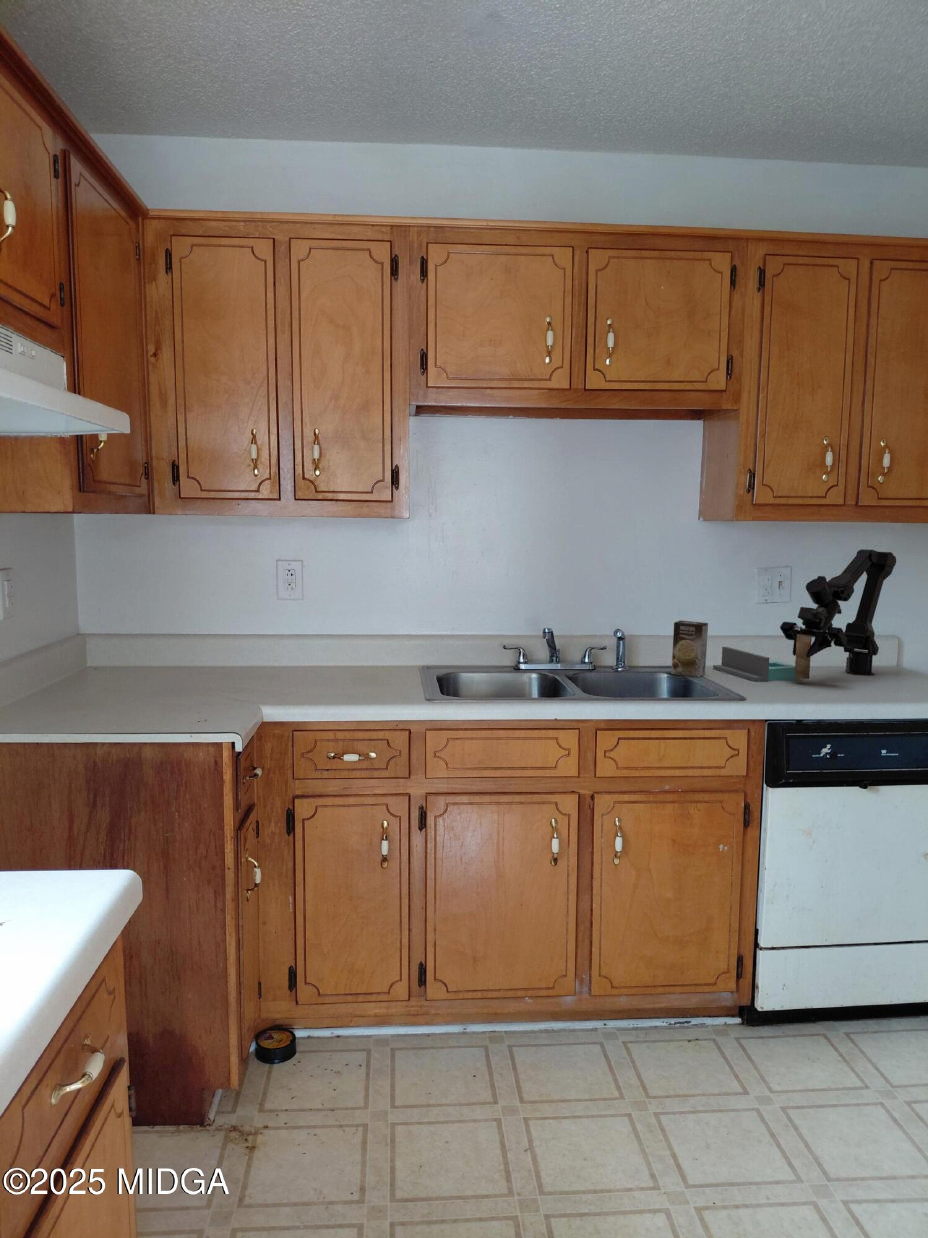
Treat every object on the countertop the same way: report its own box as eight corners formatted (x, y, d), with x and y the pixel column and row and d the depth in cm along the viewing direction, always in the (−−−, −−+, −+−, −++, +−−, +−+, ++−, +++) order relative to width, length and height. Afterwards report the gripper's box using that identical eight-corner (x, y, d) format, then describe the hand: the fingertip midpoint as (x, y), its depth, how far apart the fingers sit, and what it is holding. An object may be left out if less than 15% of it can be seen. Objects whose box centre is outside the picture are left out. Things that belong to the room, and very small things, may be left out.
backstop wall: (725, 668, 276) (726, 646, 275) (768, 681, 255) (769, 657, 254) (713, 668, 275) (714, 647, 274) (754, 681, 254) (755, 658, 253)
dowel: (806, 676, 254) (808, 634, 252) (811, 679, 250) (813, 636, 248) (792, 676, 254) (794, 634, 252) (797, 678, 250) (799, 636, 248)
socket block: (776, 674, 269) (777, 661, 269) (799, 680, 259) (800, 667, 258) (745, 675, 266) (746, 662, 266) (767, 682, 256) (768, 668, 255)
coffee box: (670, 674, 264) (672, 622, 263) (677, 671, 270) (679, 620, 268) (700, 677, 260) (702, 624, 258) (706, 674, 265) (708, 622, 263)
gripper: (785, 594, 259) (761, 634, 253) (844, 599, 244) (820, 641, 239) (798, 619, 264) (775, 658, 259) (857, 625, 250) (834, 667, 244)
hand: (800, 655), depth 250 cm, fingers closed on dowel, 4 cm apart
